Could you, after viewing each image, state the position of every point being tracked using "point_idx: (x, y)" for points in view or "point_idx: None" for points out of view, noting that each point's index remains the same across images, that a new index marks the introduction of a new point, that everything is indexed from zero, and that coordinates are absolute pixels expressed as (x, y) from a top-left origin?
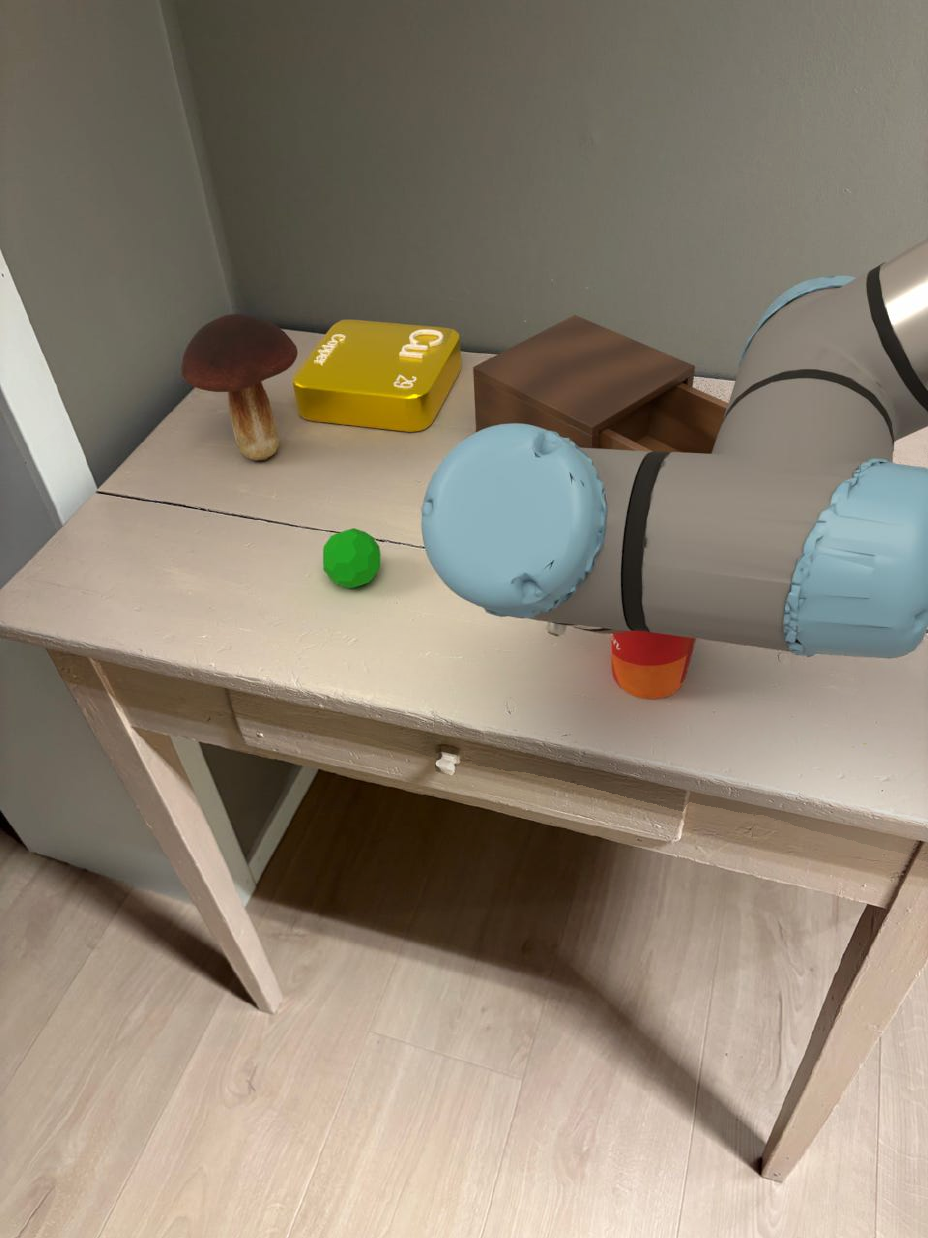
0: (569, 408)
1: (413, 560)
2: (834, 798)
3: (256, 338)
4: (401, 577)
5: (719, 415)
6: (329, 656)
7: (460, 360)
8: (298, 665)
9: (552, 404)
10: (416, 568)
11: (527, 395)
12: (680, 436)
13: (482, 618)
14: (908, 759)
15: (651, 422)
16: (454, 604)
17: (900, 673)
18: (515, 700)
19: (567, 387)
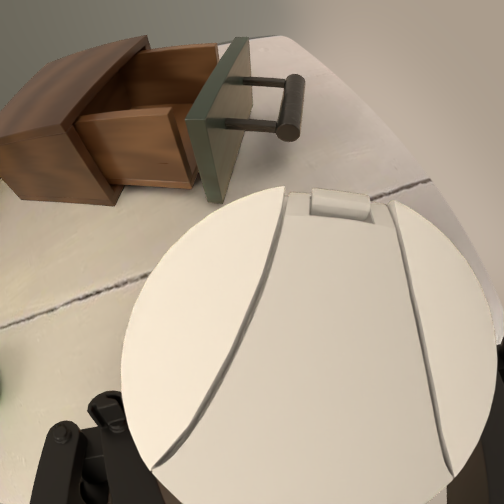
0: (37, 121)
1: (9, 345)
2: None
3: None
4: (10, 371)
5: (187, 57)
6: (24, 481)
7: None
8: (18, 493)
9: (23, 129)
10: (14, 354)
11: (5, 137)
12: (159, 92)
13: (82, 395)
14: (498, 308)
15: (130, 95)
16: (53, 387)
17: (453, 228)
18: None
19: (37, 106)
